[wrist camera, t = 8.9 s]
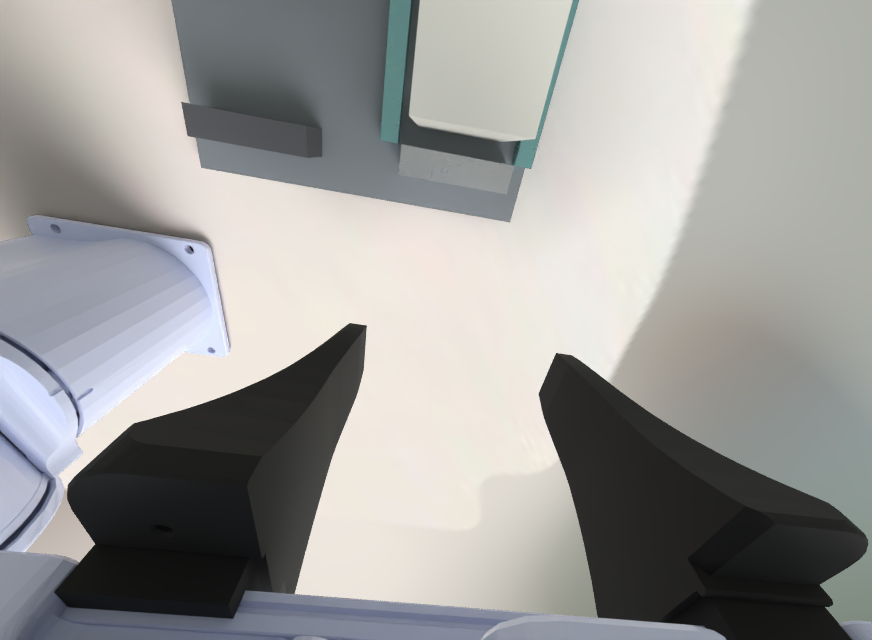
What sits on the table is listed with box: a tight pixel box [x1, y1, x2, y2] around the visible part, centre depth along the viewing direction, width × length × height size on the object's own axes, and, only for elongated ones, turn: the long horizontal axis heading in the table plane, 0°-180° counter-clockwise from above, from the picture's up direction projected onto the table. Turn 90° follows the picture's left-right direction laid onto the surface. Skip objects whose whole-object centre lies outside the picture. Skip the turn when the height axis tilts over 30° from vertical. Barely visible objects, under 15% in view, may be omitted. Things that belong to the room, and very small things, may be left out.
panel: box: [172, 0, 525, 222], centre depth 14 cm, size 16×12×1 cm
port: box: [380, 0, 579, 195], centre depth 13 cm, size 7×9×2 cm
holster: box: [181, 102, 322, 158], centre depth 12 cm, size 5×9×2 cm, turn 170°
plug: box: [409, 0, 573, 142], centre depth 11 cm, size 4×5×6 cm
